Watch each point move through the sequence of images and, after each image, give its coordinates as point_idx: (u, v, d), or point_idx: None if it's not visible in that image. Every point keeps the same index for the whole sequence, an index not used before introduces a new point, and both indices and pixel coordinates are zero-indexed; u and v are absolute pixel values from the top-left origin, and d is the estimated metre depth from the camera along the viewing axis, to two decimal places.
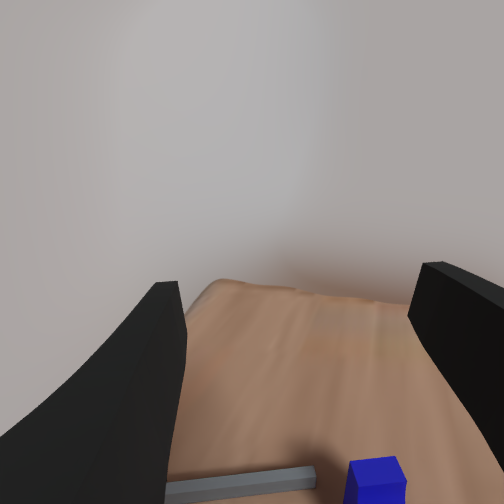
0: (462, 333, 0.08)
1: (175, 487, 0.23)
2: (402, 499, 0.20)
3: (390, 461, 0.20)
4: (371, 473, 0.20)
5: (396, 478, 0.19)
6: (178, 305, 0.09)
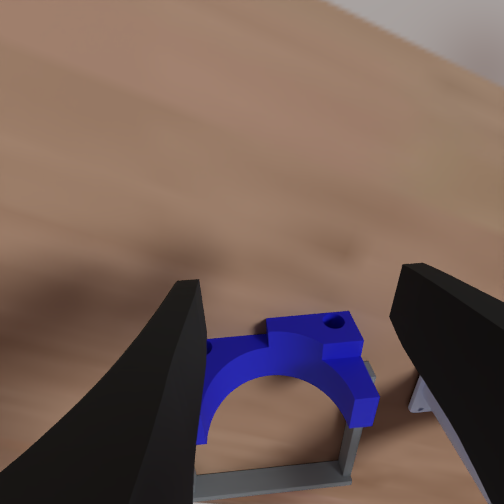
0: (439, 335, 0.08)
1: None
2: (206, 393, 0.19)
3: None
4: None
5: None
6: (200, 303, 0.09)
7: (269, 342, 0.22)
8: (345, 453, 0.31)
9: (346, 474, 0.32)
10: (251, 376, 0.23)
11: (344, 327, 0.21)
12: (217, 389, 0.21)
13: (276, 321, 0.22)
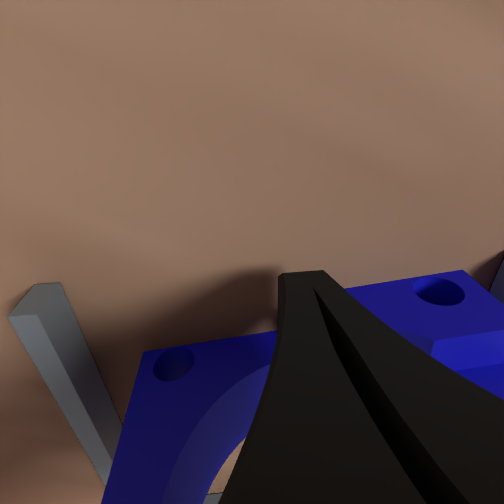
0: None
1: None
2: (175, 472, 0.08)
3: None
4: None
5: None
6: None
7: None
8: None
9: None
10: None
11: (467, 301, 0.10)
12: (205, 450, 0.10)
13: None
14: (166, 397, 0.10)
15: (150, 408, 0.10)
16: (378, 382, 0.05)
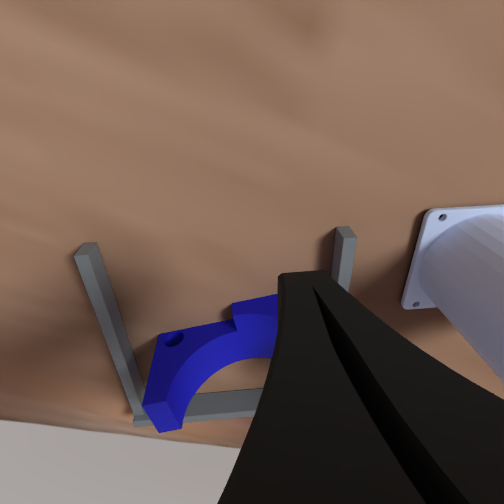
0: None
1: (124, 375, 0.23)
2: (174, 380, 0.20)
3: (149, 409, 0.19)
4: (166, 421, 0.20)
5: (165, 407, 0.19)
6: None
7: (236, 326, 0.22)
8: None
9: None
10: (227, 361, 0.24)
11: None
12: (189, 376, 0.21)
13: (242, 305, 0.22)
14: (170, 353, 0.22)
15: (163, 358, 0.22)
16: (378, 382, 0.05)
